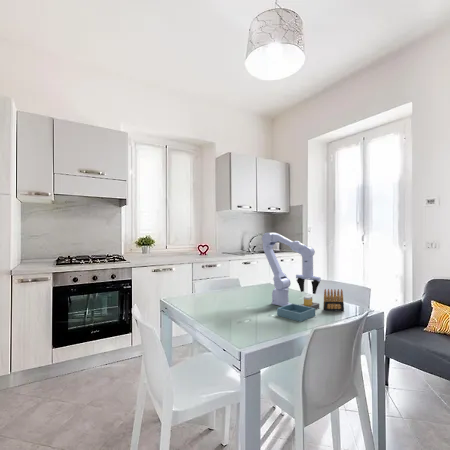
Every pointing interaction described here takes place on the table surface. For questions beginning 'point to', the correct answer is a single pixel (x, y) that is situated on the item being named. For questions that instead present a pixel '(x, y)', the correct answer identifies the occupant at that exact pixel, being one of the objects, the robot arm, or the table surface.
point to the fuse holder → (313, 305)
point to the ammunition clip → (333, 301)
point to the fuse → (308, 301)
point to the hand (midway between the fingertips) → (308, 292)
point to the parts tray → (296, 312)
